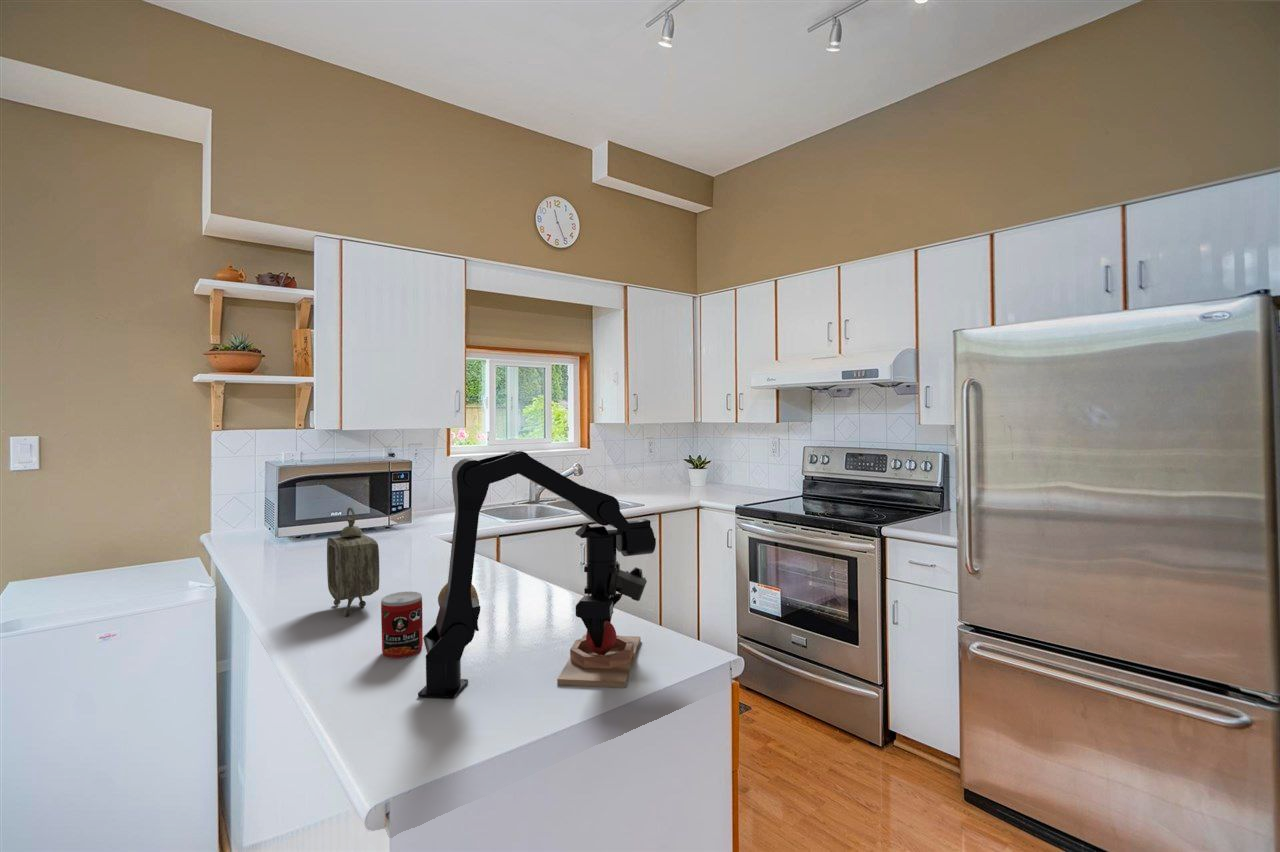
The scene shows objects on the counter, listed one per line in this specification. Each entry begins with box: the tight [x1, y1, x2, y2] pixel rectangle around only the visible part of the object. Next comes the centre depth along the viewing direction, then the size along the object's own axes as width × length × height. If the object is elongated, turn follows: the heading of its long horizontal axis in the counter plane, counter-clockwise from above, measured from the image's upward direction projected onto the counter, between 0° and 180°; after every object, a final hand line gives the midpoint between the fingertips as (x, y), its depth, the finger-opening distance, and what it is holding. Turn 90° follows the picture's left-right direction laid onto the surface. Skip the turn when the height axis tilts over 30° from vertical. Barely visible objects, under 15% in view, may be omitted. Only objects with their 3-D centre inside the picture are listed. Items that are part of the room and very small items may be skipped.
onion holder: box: [556, 634, 642, 689], centre depth 118 cm, size 22×12×3 cm, turn 173°
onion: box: [585, 621, 617, 655], centre depth 118 cm, size 6×6×8 cm
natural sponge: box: [437, 582, 480, 608], centre depth 141 cm, size 9×9×10 cm
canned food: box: [380, 591, 424, 659], centre depth 124 cm, size 8×8×11 cm
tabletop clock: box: [326, 507, 380, 617], centre depth 152 cm, size 14×9×25 cm, turn 37°
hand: (602, 640), depth 118 cm, fingers open, 7 cm apart
